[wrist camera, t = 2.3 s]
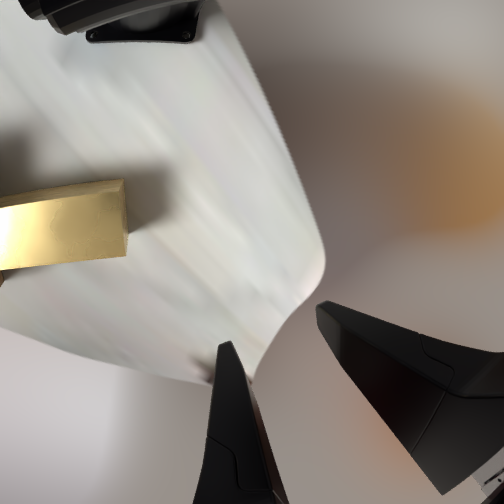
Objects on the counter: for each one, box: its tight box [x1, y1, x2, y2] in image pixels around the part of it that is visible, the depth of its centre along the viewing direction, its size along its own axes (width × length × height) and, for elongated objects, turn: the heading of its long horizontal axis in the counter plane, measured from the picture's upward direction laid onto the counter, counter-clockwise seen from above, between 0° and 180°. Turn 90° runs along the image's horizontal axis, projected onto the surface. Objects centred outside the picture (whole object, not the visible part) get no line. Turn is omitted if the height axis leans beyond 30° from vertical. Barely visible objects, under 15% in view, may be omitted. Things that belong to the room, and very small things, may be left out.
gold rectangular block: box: [0, 178, 128, 270], centre depth 14 cm, size 12×4×4 cm, turn 87°
